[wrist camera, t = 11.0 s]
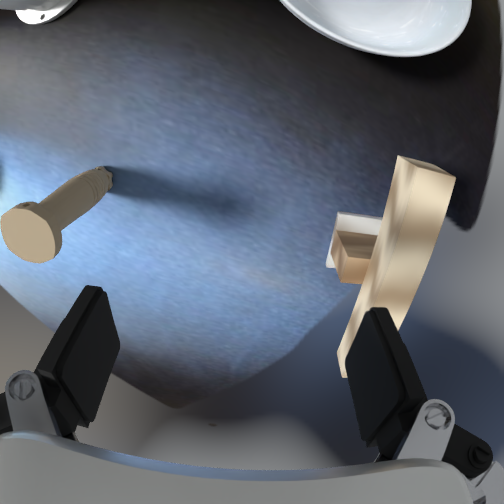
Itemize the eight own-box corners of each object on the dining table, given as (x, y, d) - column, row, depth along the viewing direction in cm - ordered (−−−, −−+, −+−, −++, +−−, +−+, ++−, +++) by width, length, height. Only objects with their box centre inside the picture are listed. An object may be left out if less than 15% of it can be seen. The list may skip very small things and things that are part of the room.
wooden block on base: (337, 211, 34) (353, 238, 28) (406, 221, 34) (430, 248, 28) (325, 263, 37) (335, 297, 32) (390, 269, 38) (408, 302, 32)
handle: (80, 158, 31) (-4, 206, 18) (126, 159, 32) (49, 211, 19) (82, 195, 34) (7, 256, 21) (127, 199, 34) (59, 267, 21)
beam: (397, 155, 24) (417, 167, 20) (433, 164, 24) (456, 177, 20) (336, 352, 36) (342, 377, 32) (366, 352, 36) (373, 377, 32)
